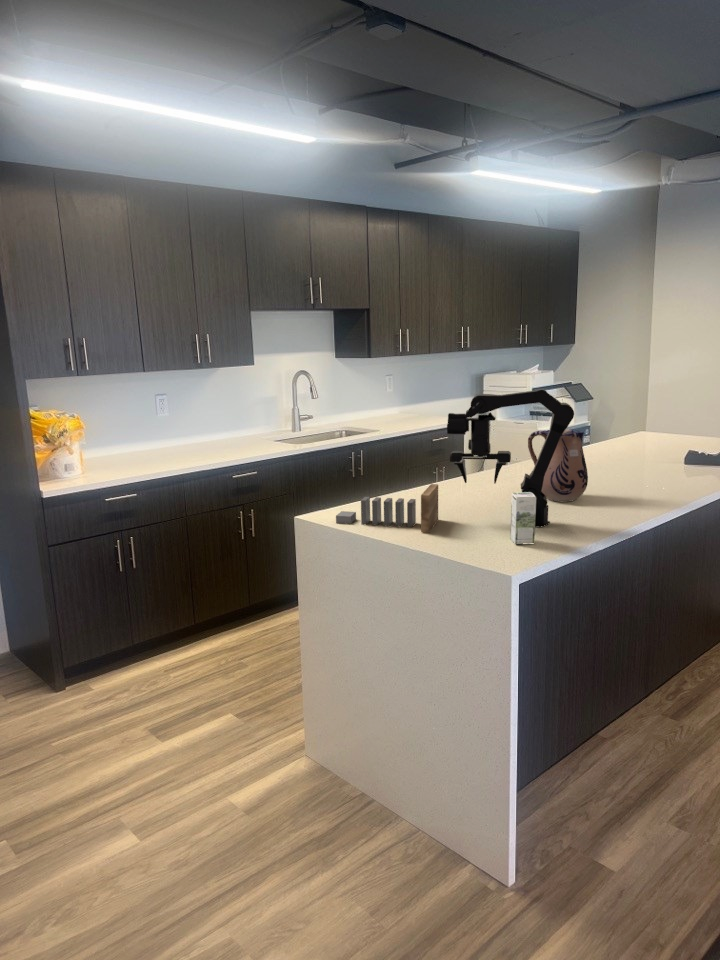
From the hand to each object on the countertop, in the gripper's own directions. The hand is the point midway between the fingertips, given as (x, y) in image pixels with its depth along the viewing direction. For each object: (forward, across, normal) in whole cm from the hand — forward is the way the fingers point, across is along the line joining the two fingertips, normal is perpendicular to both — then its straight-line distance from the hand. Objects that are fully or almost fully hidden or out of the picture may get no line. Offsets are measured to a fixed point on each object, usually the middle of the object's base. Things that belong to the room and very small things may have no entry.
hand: (480, 483), depth 221 cm
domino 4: (+13, +25, +7) cm, 29 cm away
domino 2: (+12, +33, +7) cm, 36 cm away
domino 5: (+13, +21, +7) cm, 26 cm away
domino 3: (+12, +29, +7) cm, 32 cm away
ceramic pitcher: (+14, -24, -36) cm, 45 cm away
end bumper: (+12, +43, +6) cm, 45 cm away
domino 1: (+12, +36, +7) cm, 39 cm away
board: (+13, +15, +7) cm, 21 cm away
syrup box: (+13, -14, +20) cm, 27 cm away
